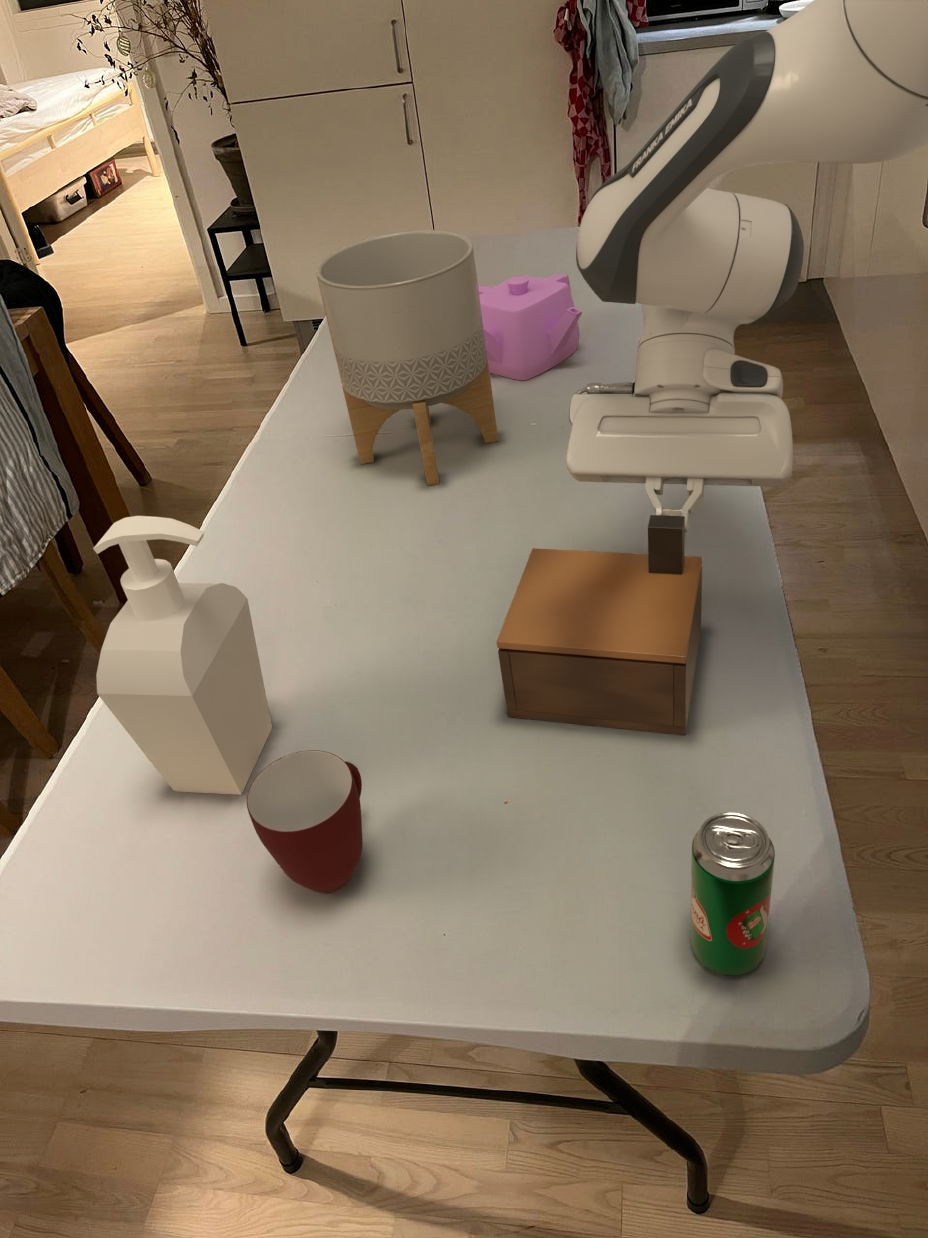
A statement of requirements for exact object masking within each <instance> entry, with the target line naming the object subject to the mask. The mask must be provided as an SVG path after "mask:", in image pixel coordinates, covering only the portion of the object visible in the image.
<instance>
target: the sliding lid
mask: <svg viewBox="0 0 928 1238" xmlns="http://www.w3.org/2000/svg"><path fill="white" fill-rule="evenodd" d="M685 541H686V532H685V516H667V515H655V514H650V516H649V520H648V524H647V553H635V552H617V551H616V552H613V551H596V550H575V549H557V548H556V549H553V548H537V547H536V548H534V547H533V548H532V549H531V551H530V554H529V557H528V560H527V561H526V564H525V567H524V569H523V572H522V574H521V578H520V580H519V582H518V584H517V588H516V590H515V593H514V595H513V598H512V601H511V603H510V605H509V608H508V611H507V613H506V616H505V618H504V620H503V624H502V626H501V629H500V632H499V634H498V637H497V638H496V647H497V649H499V648H501V649H514V650H526V651H538V652H550V653H562V654H574V655H586V656H598V657H610V658H622V659H634V660H647V661H659V662H671V663H683V664H686V661H687V655H688V648H689V642H690V636H691V630H692V624H693V618H694V611H695V605H696V599H697V593H698V587H699V580H700V574H701V568H702V569H703V556H698V555H697V556H694V555H686V553H685V552H686V551H685V550H686V548H685V546H686V545H685Z"/></svg>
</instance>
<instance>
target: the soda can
mask: <svg viewBox="0 0 928 1238" xmlns="http://www.w3.org/2000/svg"><path fill="white" fill-rule="evenodd" d="M775 859H776V850H775V847H774V844H773V841H772V839H771V838H770V836H769V834H768V832H767V830H766V829H765V827H764V825H762V824H761V823H760V822H759V821H758V820H757V819H755V818H753V817H752V816H750V815H747V814H745V813H742V812H741V813H740V812H734V811H733V812H732V811H727V812H721V813H717V814H714V815H712V816H710V817H709V818H707V819H706V820H705V821H704V822H703V823H702V824H701V826H700V828H698V830H697V832H696V833H695V834H694V837H693V838H692V843H691V872H690V873H691V878H690V879H691V881H690V882H691V883H690V887H691V888H690V946H691V948H692V952H693V953H694V955H695V957H696V958H697V960H698V961H699V962H700V963H701V964H702V965H703V966H704V967H706V968H707V969H709V970H710V971H713V972H715V973H717V974H721V975H724V976H725V975H726V976H739V975H740V976H741V975H744V974H747V973H749V972H751V971H753V970H754V969H756V968H757V967H758V966H759V965H760V964H761V962H762V961H763V960H764V957H765V955H766V950H767V949H766V948H767V939H768V927H769V920H770V919H769V918H770V908H771V900H772V899H771V898H772V890H773V879H774V878H773V877H774V868H775Z"/></svg>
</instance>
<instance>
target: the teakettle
mask: <svg viewBox="0 0 928 1238" xmlns="http://www.w3.org/2000/svg"><path fill="white" fill-rule="evenodd" d="M478 289H479V297H480V304H481V312H482V320H483V328H484V335H485V343H486V351H487V360H488V364H489V372H490V374H493V375H497V376H501V377H504V378H509V379H513V380H517V381H527V380H530V379H533V378H535V377H537V376H539V375H541V374H543V373H544V372H547V371H549V370H551V369H552V368H554V367H556V366H557V365H559V364H560V363H562V362H564V361H565V360H566V359H567V358H569V357H571V356H572V354H574V353H575V352H576V351H577V350H578V345H579V339H580V329H579V320H580V318H581V317H582V314H583V310H581V309H579V308H577V307H575V303H574V300H573V297H572V290H571V283H570V276H569V274H566V273H565V274H564V273H559V272H557V273H554V274H552V275H550V276H548V277H546V278H541V277H537V276H531V275H525V274H524V275H523V274H522V275H516V276H513V277H511V278H509V279H507V280H505V281H503V282H501V283H499V284H497V285H495V286H489V285H488V286H487V285H482V284H478Z"/></svg>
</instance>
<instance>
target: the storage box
mask: <svg viewBox="0 0 928 1238" xmlns="http://www.w3.org/2000/svg"><path fill="white" fill-rule="evenodd" d="M702 593H703V567H702V568H701V574H700V580H699V587H698V593H697V599H696V605H695V611H694V618H693V624H692V630H691V636H690V642H689V648H688V655H687V661H686V664H683V663H671V662H659V661H647V660H634V659H622V658H610V657H598V656H586V655H574V654H562V653H550V652H538V651H526V650H514V649H501V648H498V650H497V654H498V661H499V668H500V675H501V680H502V687H503V694H504V700H505V707H506V714H507V717H508V718H518V719H525V720H536V721H547V722H555V723H565V724H573V725H574V724H575V725H576V724H577V725H584V726H593V727H595V726H596V727H602V728H603V727H604V728H605V727H606V728H614V729H624V730H632V731H640V732H641V731H642V732H651V733H660V734H661V733H662V734H670V735H680V736H681V735H682V736H685V735H686V734H687V728H688V727H687V726H688V720H689V714H690V708H691V702H692V701H691V700H692V694H693V687H694V681H695V676H696V675H695V674H696V669H697V660H698V655H699V647H700V642H701V635H702V600H703V599H702V596H703V594H702Z"/></svg>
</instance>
